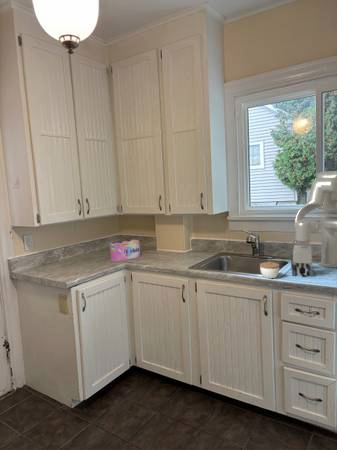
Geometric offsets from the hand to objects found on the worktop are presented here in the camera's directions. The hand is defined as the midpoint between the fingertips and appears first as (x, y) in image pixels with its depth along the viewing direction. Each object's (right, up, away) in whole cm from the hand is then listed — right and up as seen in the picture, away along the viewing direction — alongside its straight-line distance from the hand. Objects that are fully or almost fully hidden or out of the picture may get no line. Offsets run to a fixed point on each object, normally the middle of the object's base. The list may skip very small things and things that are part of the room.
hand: (302, 274), depth 192 cm
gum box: (-111, +2, +68) cm, 130 cm away
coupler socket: (+3, 0, +8) cm, 8 cm away
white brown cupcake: (-18, -2, +1) cm, 19 cm away
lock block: (+2, -1, +5) cm, 5 cm away
